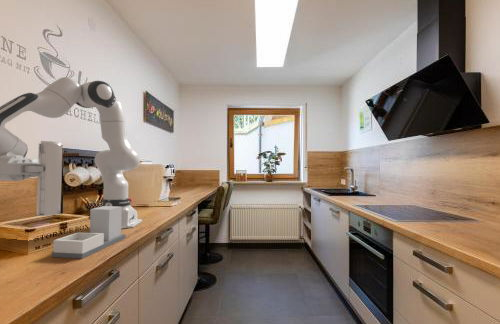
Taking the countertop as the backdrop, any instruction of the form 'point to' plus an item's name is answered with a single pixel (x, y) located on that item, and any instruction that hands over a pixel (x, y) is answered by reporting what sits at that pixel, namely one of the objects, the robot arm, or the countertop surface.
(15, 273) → the countertop surface
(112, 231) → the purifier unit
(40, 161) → the white upright block
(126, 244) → the countertop surface
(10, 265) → the countertop surface
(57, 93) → the robot arm
